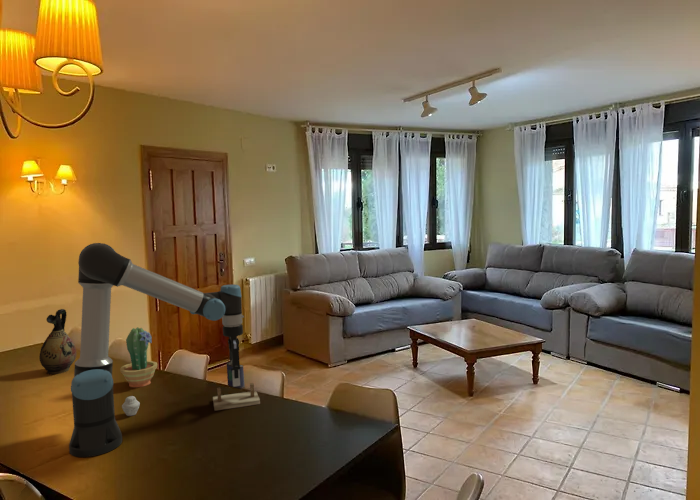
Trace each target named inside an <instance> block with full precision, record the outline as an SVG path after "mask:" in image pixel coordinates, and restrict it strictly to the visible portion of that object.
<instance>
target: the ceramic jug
mask: <svg viewBox="0 0 700 500" xmlns="http://www.w3.org/2000/svg"><path fill="white" fill-rule="evenodd" d="M67 315H68V314H67V310H66V309H65V308H60V309H57V310H56V312H55V315H53V314H49V315H47V317H46V322H47V323H49V324H52V325H53V327H52V329H51V331H50V333H49V334H48V336H47V337H46V338H45V340H44V342H43V344H42V346H41V348H40V350H39V352H40V353H39V356H38V357H39V362H40V364H41V367H42V368H44V369H45V370H46V374H49V375H56V374H64V373H65V372H68V371H69V370H70V368H71V366H72V365H73V363H75V360H76V358H77V349H76V345H75V343H74V342H73V340H72V339H71V337H70V336H69V334H68V333H66V332H65V327H66V321H67Z"/></svg>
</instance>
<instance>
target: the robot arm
mask: <svg viewBox="0 0 700 500" xmlns="http://www.w3.org/2000/svg"><path fill="white" fill-rule="evenodd" d="M77 262H78V276H77V277H78V279H77V282H78V283H77V284H79V285H80V286H81V287H82V305H81V326H80V329H81V330H80V351H79V352H80V353H79V358H78V359H76V361H74V369H73V372H74V373H73V378H72V380H71V385H70V392H71V399H72V400H71V401H72V413H73V429H72V434H71V437H70V441H69V444H68V448H69V449H68V450H69V451H68V452H69V454H70V455H71V456H73V457H77V458H89V457H95V456H99V455H103V454H105V453H108V452H111V451H113V450H115V449H117V448H118V447H119V446H120V445H121V444H122V442H123V434H122V431H121V429H120V426H119V424H118V422H117V420H116V414H115V398H114V379H113V365H114V363H113V362H114V360H113V359H112V358H111V357H110V356H109V347H110V346H109V345H110V326H111V325H110V323H111V321H110V320H111V303H112V301H111V299H112V298H111V297H112V288H113V287H121V286H124V287H126V288H129V289H132V290H133V291H137V292H140V293H142V294H144V295H147V296H149V297H152V298H155V299H158V300H160V301H163V302H166V303H168V304H171V305H173V306H176V307H179V308H181V309H183V310H185V311H189V313H190V314H191V315H198V316H202V317H203V318H205V319H207V320H210V321H219V320H221V319H222V321H221V322H222V325H223V326H222V333H223V334H222V335H223V336H224V337H227V338H228V339H227V343H228V349H229V357H228V358H229V362H231V360H232V367H233V368H232V369H231V370H232V377H233V387H235V386H240V365H241V364H240V340H239V337H238V336H243V333H244V327H243V326H244V325H243V318H245V316H244V315H243V309H242V307H243V305H242V304H243V303H242V296H243V295H242V291H241V286H240V285H238V284H224V285H221V286H220V290H219V291H213V292H211V291H210V292H202V291H200V290H198V289H195V288H194V287H193V288H192V287H190V286H188V285H186V284H184V283H180V282H178V281H175V280H173V279H171V278H168V277H165V276H163V275H161V274H159V273H156V272H154V271H152V270H149V269H146V268H145V267H141V266H139V265H137V264H134V263H133V262H132V260H131V259H130V258H128V257H126V256H123V255H121V254H119V252H116V250H115V249H114V248H113V247H112V246H110V245H109V244H106V243H101V242H93V243H90V244H88V245H86V246H85V247H84V248H83V249H82V250H81V251H80V253H79V255H78V261H77ZM233 387H232V388H233Z"/></svg>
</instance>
